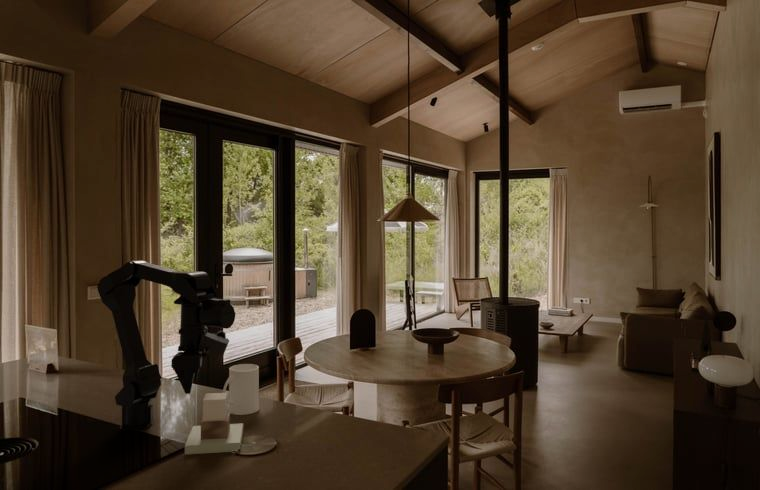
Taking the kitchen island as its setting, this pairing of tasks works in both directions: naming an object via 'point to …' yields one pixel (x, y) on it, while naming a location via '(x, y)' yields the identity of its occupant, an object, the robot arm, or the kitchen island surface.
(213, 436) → the walnut block
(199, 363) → the robot arm
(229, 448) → the base board
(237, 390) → the mug
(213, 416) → the ceramic cube
